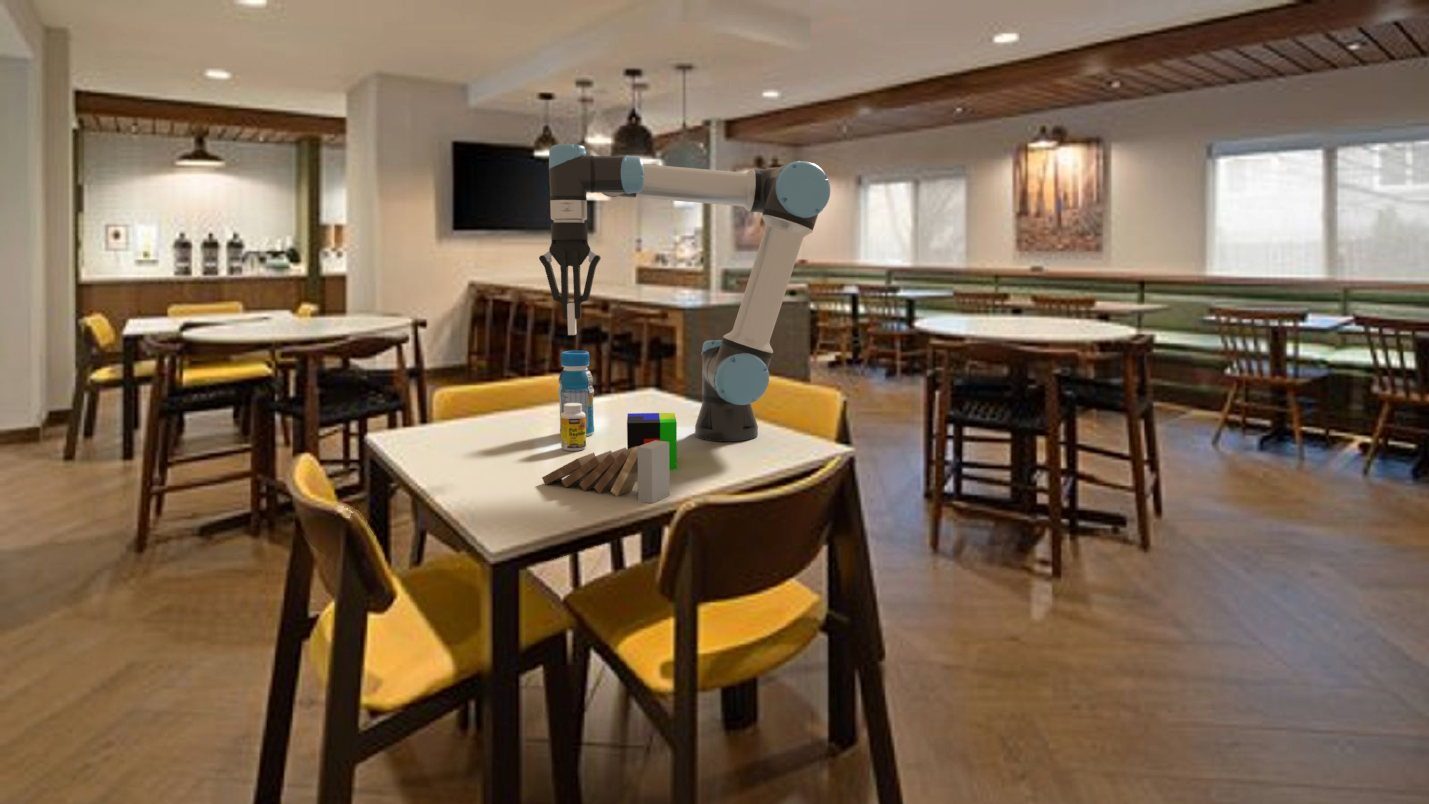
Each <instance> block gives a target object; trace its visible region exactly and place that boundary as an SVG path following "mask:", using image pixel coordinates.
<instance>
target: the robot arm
mask: <svg viewBox="0 0 1429 804" xmlns="http://www.w3.org/2000/svg"><path fill="white" fill-rule="evenodd" d="M548 153H549V155H548V157H549V158H548V174H549V176H548V177H549V198H550V200H549V202H550V205H549V206H550V207H549V208H550V220H552V221H553V222H552V223H551V224H550V226H551V227H550V234H551V235H550V237H551V238H550V239H551V241H550V243H551V244H550V246H549V250H548V251H547V252H545V253H544V254H542V255H539V257H538V259H539V262H540V263H541V264H542V266H543V267H544V271H545V273H546V277H547V282H548V284H549V289H550V292H551V296H552V300H554V301H555V302H559V303H560V304H561V310H562V313H561V314H562V316H561V317H562V319H565V320H567V336H575V335H577V320H579V319H581V317H582V303H583V302H587V301H588V300H589V299H590V296H591V292H592V291H591V290H592V286H593V282H594V278H595V272H596V269H597V266H598V264H599V262H601V255H600V254H599V255H598V254H596V253H595V252H594V251H592V250H591V247H590V245H589V242H588V241H589V239H588V238H589V237H588V224H587V223H586V222H585V221H587V220H588V200H587V193H591V194H593V193H594V194H595V193H596V194H597V193H599V194H603V195H604V196H606V197H608V198H609V197H610V198H617V197H621V198H634V199H635V198H639V199H647V200H648V199H649V200H650V199H651V200H661V201H673V202H684V203H685V202H686V203H698V204H709V205H710V204H711V205H721V206H734V207H743V208H744V209H745V210H746V211H747V212H750V213H751V212H752V213H758V214H759V213H760V214H761V218H762V221H763V222H764V224H765V225H764V226H765V227H764V230H763V234H762V237H761V241H760V243H759V247H758V249H757V252H756V256H755V259H754V262H753V265H752V268H751V272H750V274H749V277H748V281H747V282H746V283H747V284H746V287H745V290H744V293H743V297H742V300H741V303H740V306H739V309H738V312H737V316H736V318H735V322H734V324H733V328H732V330H731V331H730V332H728V333H726V334H724V335H723V336H722V339H717V340H716V339H715V340H713V339H711V340H706V341H704V343H703V344H702V347H701V349H702V350H701V353H700V354H701V358H702V359H701V360H702V369H701V372H702V374H701V380H702V381H701V383H702V387H701V388H702V390H701V392H702V393H701V396H702V399H701V401H702V403H701V406H700V410H699V413H698V416H697V419H696V422H695V426H694V435H695V437H697V438H699V439H703V440H706V441H714V442H739V441H740V442H741V441H748V440H752V439H754V438H757V437H758V435H759V425H758V422H757V419H756V417H755V413H754V409H753V406H752V404H753V403H756V401H758V400H759V399H761V398H762V396H763V395H764V394H765V393H766V391H767V389H768V386H769V382H770V371H769V366H770V364H771V361H772V357H773V354H774V350H773V348H772V346H771V343H770V341H771V338H772V335H773V332H774V329H775V325H776V324H777V321H778V320H777V319H778V318H779V317H778V316H779V314H780V312H781V311H780V310H781V308H782V304H783V301H784V297H785V295H786V292H787V288H788V285H789V283H790V280H791V276H792V275H793V270H794V268H795V265H796V262H797V258H798V255H799V252H800V249H801V247H802V242H803V240H804V238H805V237H807V236H809V235H810V234H812V233H813V231H814V228H815V226H816V223H817V220H818V216H819V214H821V212H822V211H823V210H824V209H825V208H826V206H827V205H828V203H829V200H830V196H831V184H830V180H829V178H828V175H826V173H825V171H824V170H823V169H822V168H821V167H820V166H819V165H817V164H816V163H812V162H810V161H803V160H797V161H792V162H788V163H787V164H785V165H782V166H778V167H773V168H764V169H762V168H759V169H758V168H750V169H749V170H748V171H747V172H741V171H728V170H718V169H705V168H694V167H684V166H683V167H682V166H672V165H661V164H658V165H657V164H649V163H644V160H643V159H642V158H641V156H631V155H589V154H587V152H586V147H585V146H583V145H580V144H571V143H570V144H567V143H566V144H565V143H564V144H563V143H561V144H555V145H552V146H551V147H550V148H549V152H548ZM552 257H553V258H554V259H552ZM587 258H588V262H589V266H588V270H587V275H586V279H585V283H584V288H583V293H582V290H581V289H582V288H581V285H582V284H581V266H582V264H583V263H584V262H585V260H586V259H587ZM553 260H555V261H556V262H557V264H558V265H559V266H560V286H561V287H560V289H561V290H560V291H559V287H558V284H557V281H556V280H557V279H556V276H555V273H554V269H553V266H552V262H553ZM569 267H572V280H573V302H571V303H569V302H570V295H569V291H570V290H569ZM560 292H561V295H560ZM581 293H582V294H581Z"/></svg>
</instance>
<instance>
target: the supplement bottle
mask: <svg viewBox="0 0 1429 804" xmlns="http://www.w3.org/2000/svg"><path fill="white" fill-rule="evenodd" d="M581 411H582V404H580V403H567V404H564V412H563V413H562V414H561V433H560V445H561V449H562V450H564V451H566V452H579V451H583V450H585V449H586V448H587V436H586V415H585V413H584V412H581Z"/></svg>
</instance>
